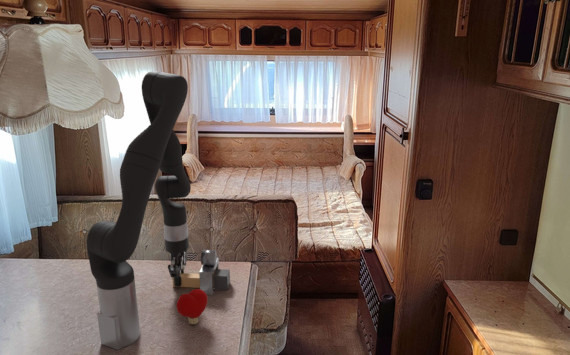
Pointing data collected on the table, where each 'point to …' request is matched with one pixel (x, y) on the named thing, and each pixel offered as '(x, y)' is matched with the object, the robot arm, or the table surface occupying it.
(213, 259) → the housing
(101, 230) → the robot arm
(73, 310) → the table surface
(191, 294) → the red heart ornament
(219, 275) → the plug
